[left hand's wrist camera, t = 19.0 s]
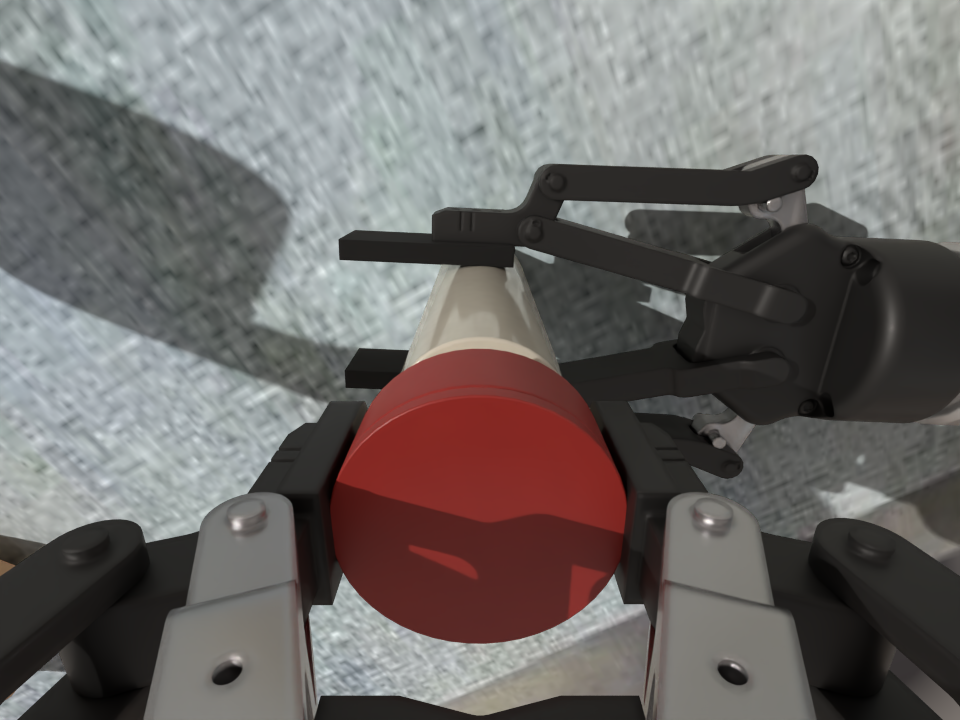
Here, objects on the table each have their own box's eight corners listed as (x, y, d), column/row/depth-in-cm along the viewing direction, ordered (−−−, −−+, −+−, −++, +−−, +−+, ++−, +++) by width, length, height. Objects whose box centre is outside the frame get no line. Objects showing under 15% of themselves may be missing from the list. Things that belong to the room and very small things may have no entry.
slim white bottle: (497, 337, 29) (519, 588, 12) (423, 298, 28) (336, 507, 11) (540, 265, 27) (634, 434, 11) (463, 222, 27) (433, 329, 10)
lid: (443, 296, 10) (434, 333, 8) (652, 435, 11) (693, 500, 9) (312, 488, 11) (274, 563, 9) (506, 594, 12) (512, 683, 10)
